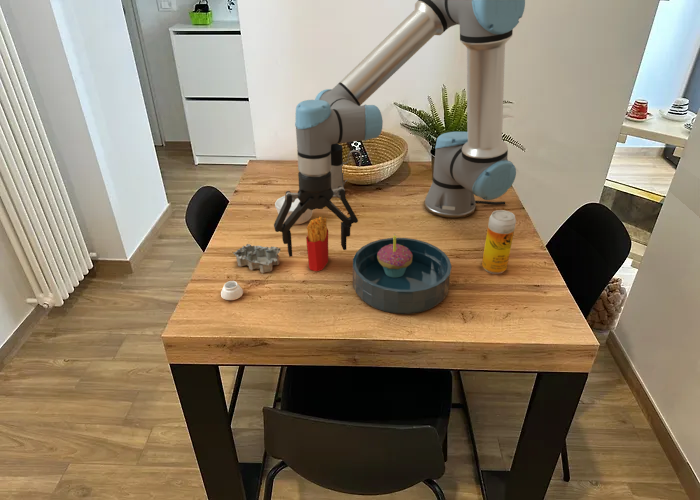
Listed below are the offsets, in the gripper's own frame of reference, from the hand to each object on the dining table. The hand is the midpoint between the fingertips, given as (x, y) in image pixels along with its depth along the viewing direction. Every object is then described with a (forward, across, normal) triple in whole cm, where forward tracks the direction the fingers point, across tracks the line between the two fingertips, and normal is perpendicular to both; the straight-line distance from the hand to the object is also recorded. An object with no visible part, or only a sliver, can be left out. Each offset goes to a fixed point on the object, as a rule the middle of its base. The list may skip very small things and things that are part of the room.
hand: (317, 250), depth 124 cm
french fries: (+4, 0, 0) cm, 4 cm away
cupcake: (+3, -17, +10) cm, 20 cm away
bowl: (+4, -17, +14) cm, 23 cm away
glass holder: (+4, -15, -41) cm, 44 cm away
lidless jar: (+4, +22, +8) cm, 24 cm away
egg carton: (+4, +15, -4) cm, 16 cm away
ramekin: (+4, +2, -26) cm, 26 cm away
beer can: (+4, -42, +13) cm, 44 cm away
